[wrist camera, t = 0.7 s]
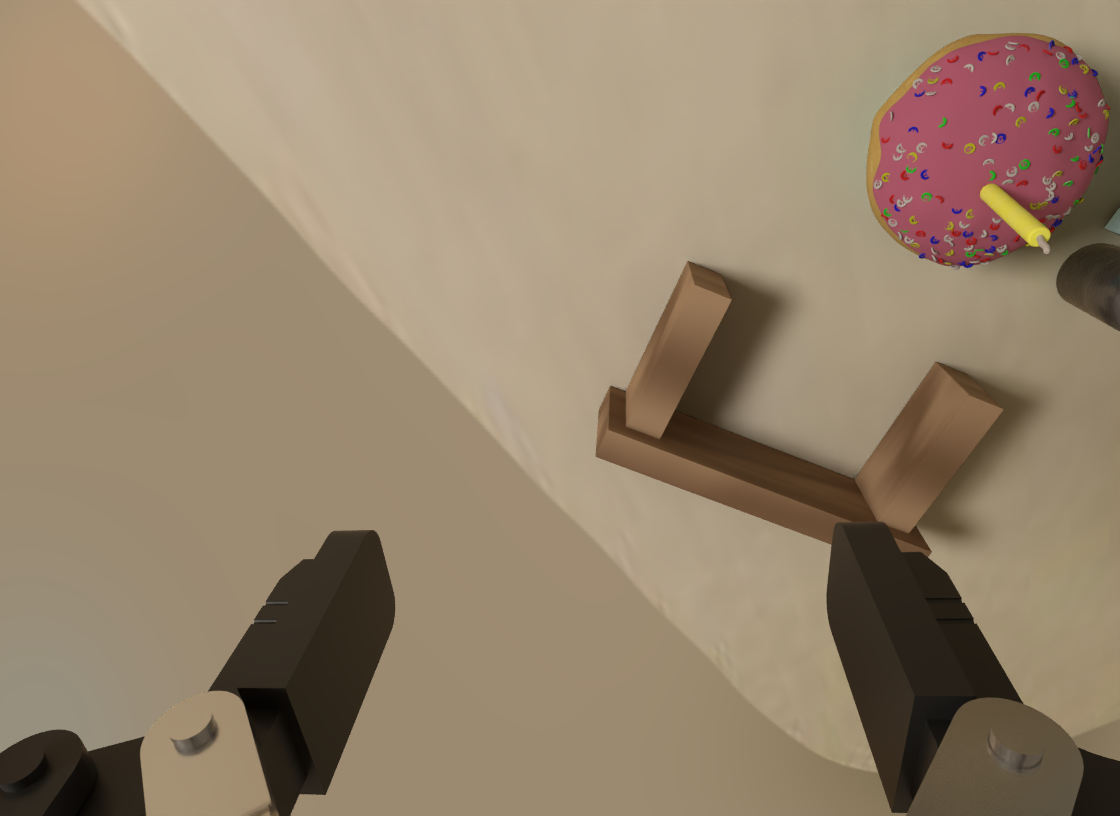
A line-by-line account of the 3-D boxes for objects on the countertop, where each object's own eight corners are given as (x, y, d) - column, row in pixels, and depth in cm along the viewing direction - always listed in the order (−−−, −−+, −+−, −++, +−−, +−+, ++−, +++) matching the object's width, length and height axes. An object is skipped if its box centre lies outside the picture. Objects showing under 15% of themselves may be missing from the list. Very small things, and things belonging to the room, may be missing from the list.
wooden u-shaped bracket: (670, 254, 35) (677, 284, 30) (982, 380, 36) (1032, 426, 32) (598, 410, 39) (595, 456, 35) (881, 517, 41) (913, 575, 36)
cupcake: (965, 262, 34) (1122, 359, 23) (802, 201, 33) (885, 271, 23) (1082, 75, 30) (1334, 87, 19) (900, 1, 30) (1057, -28, 19)
